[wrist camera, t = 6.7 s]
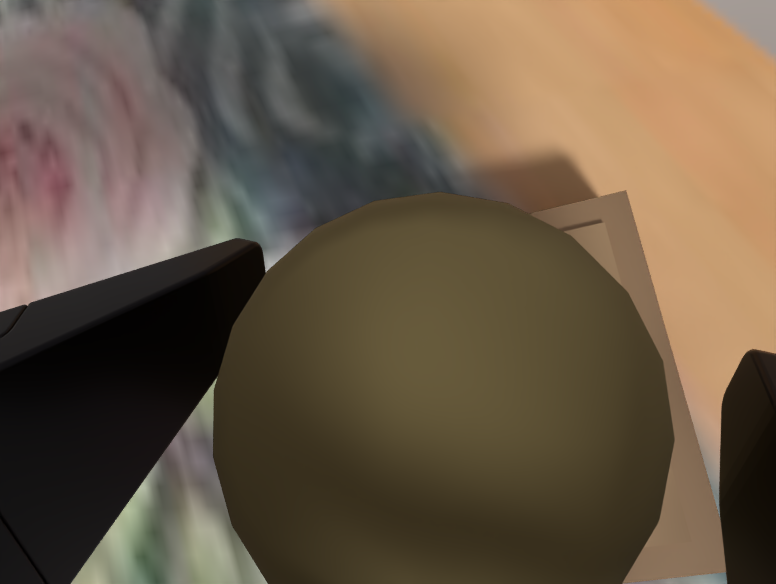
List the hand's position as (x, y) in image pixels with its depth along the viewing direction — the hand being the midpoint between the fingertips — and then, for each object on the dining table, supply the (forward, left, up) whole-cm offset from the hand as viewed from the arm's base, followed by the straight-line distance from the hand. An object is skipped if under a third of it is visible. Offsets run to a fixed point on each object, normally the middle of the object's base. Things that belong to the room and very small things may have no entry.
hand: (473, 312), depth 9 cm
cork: (-1, -1, -8) cm, 8 cm away
